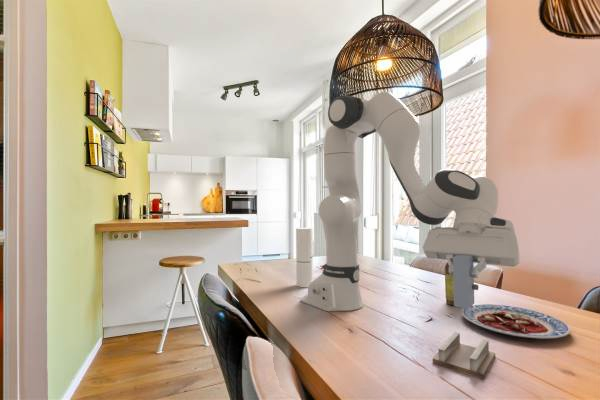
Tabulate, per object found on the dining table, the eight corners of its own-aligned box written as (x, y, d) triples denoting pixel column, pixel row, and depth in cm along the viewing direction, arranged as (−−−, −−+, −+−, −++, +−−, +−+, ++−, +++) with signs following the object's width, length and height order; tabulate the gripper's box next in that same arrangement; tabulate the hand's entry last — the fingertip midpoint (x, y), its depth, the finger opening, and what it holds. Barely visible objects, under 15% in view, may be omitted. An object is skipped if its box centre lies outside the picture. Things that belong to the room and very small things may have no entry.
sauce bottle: (467, 307, 107) (466, 249, 107) (448, 306, 108) (447, 248, 108) (462, 301, 113) (461, 246, 113) (443, 300, 114) (442, 246, 115)
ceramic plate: (532, 354, 74) (532, 341, 74) (443, 318, 98) (443, 308, 98) (591, 335, 84) (591, 324, 84) (498, 306, 108) (497, 298, 108)
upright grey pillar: (454, 306, 70) (452, 257, 71) (460, 300, 74) (459, 254, 74) (473, 309, 68) (472, 258, 68) (479, 304, 72) (478, 255, 72)
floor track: (432, 362, 70) (432, 347, 70) (449, 344, 79) (448, 330, 79) (483, 379, 63) (483, 361, 63) (495, 357, 72) (494, 341, 72)
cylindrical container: (315, 284, 138) (315, 228, 138) (307, 288, 132) (307, 229, 132) (302, 282, 142) (301, 227, 142) (293, 286, 136) (292, 228, 136)
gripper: (427, 219, 84) (413, 261, 76) (520, 221, 70) (514, 272, 63) (433, 234, 87) (420, 276, 79) (523, 239, 73) (518, 290, 66)
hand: (462, 274), depth 71 cm, fingers closed on upright grey pillar, 3 cm apart
